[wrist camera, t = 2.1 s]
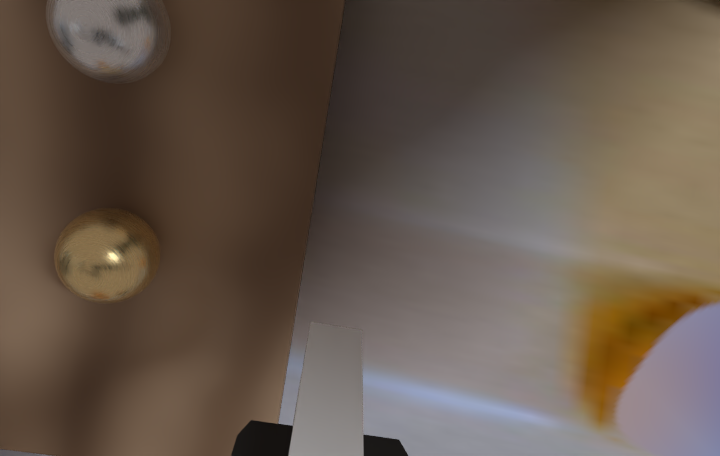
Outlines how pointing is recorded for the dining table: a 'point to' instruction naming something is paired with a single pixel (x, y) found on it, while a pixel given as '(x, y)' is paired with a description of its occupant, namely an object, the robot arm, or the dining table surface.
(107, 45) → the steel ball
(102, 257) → the brass ball
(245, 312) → the hole plate
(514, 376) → the dining table surface
